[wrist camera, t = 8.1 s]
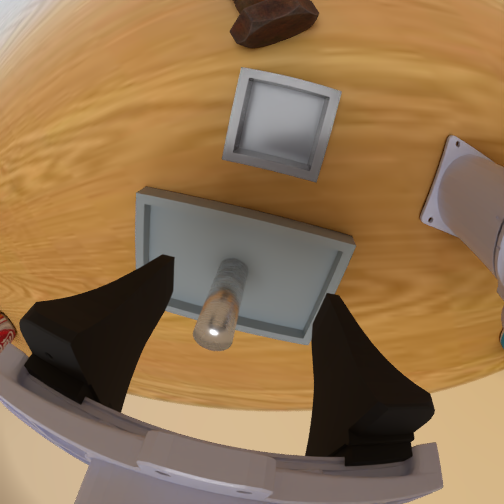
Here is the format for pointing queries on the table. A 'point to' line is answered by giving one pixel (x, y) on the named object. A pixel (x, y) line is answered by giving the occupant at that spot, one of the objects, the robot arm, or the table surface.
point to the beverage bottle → (502, 338)
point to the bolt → (271, 21)
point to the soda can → (6, 332)
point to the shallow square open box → (280, 123)
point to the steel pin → (222, 306)
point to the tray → (243, 259)
